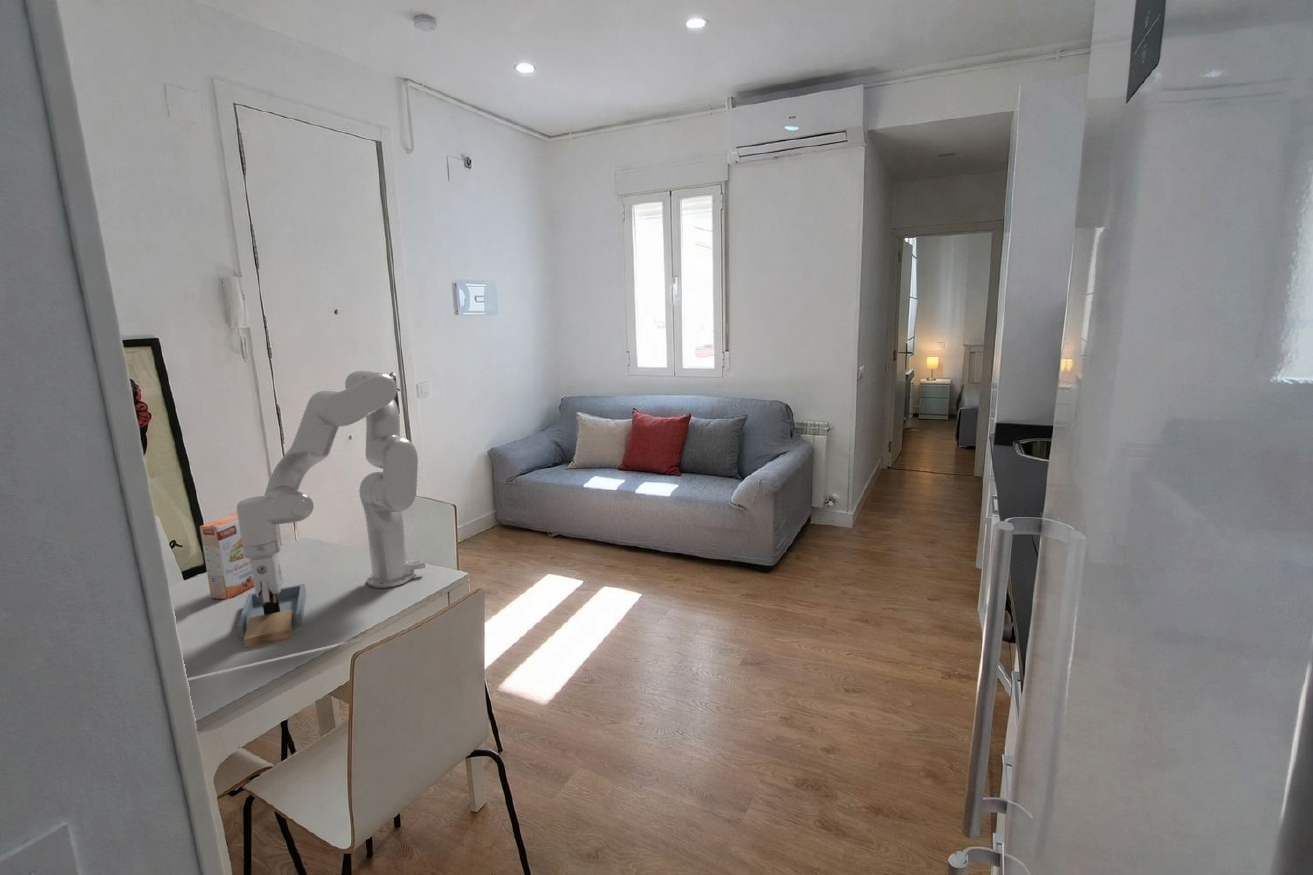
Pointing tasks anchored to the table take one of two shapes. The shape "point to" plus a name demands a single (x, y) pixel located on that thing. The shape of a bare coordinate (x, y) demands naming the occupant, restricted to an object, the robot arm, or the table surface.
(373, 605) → the table surface
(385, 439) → the robot arm
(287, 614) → the tan square slab
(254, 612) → the blue-grey open-ended tray
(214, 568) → the cracker box
